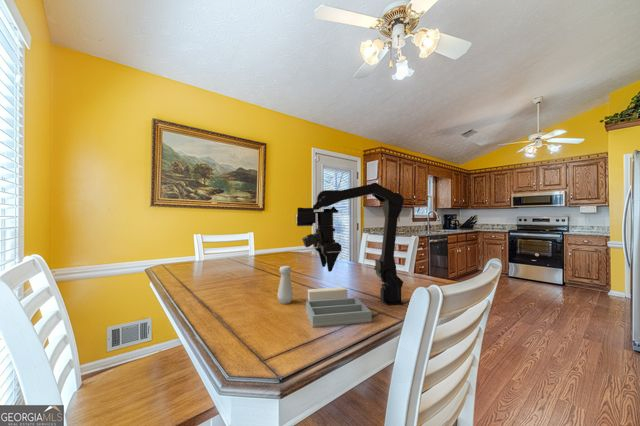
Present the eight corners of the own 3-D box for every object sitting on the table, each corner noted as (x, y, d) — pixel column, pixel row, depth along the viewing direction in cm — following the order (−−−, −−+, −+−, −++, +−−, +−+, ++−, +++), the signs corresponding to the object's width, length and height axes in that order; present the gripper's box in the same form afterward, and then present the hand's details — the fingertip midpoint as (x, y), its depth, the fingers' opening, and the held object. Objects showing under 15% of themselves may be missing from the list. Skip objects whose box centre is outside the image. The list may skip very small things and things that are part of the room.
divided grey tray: (356, 306, 87) (356, 297, 87) (371, 321, 74) (371, 311, 74) (305, 310, 83) (305, 301, 84) (312, 327, 70) (312, 316, 70)
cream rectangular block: (344, 300, 94) (344, 287, 94) (347, 303, 91) (347, 289, 91) (307, 303, 91) (307, 289, 91) (309, 306, 88) (309, 292, 88)
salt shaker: (285, 305, 88) (285, 268, 88) (273, 302, 91) (274, 266, 92) (296, 301, 92) (296, 266, 93) (285, 298, 96) (285, 264, 96)
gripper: (299, 225, 98) (300, 265, 98) (307, 227, 80) (309, 276, 80) (327, 225, 101) (328, 264, 100) (341, 226, 82) (342, 273, 82)
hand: (326, 269), depth 90 cm, fingers open, 9 cm apart
